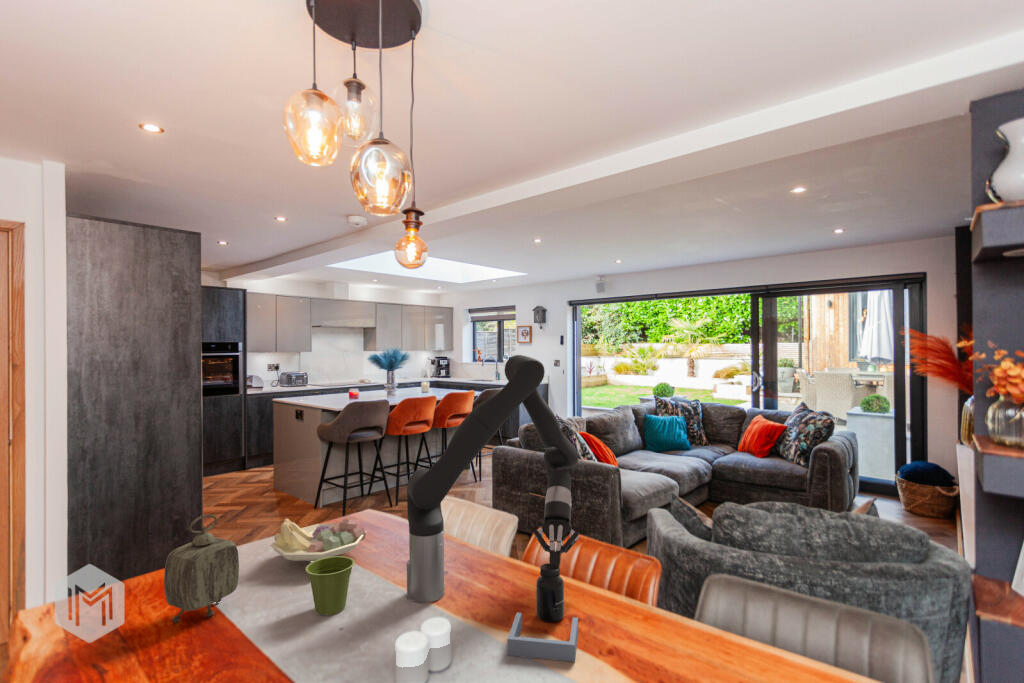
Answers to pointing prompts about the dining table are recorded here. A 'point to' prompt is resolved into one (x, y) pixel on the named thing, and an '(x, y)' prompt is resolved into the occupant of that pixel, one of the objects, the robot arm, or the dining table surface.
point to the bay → (542, 644)
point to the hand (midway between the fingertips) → (554, 566)
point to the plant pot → (330, 583)
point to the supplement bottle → (550, 593)
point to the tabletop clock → (201, 571)
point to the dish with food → (317, 540)
